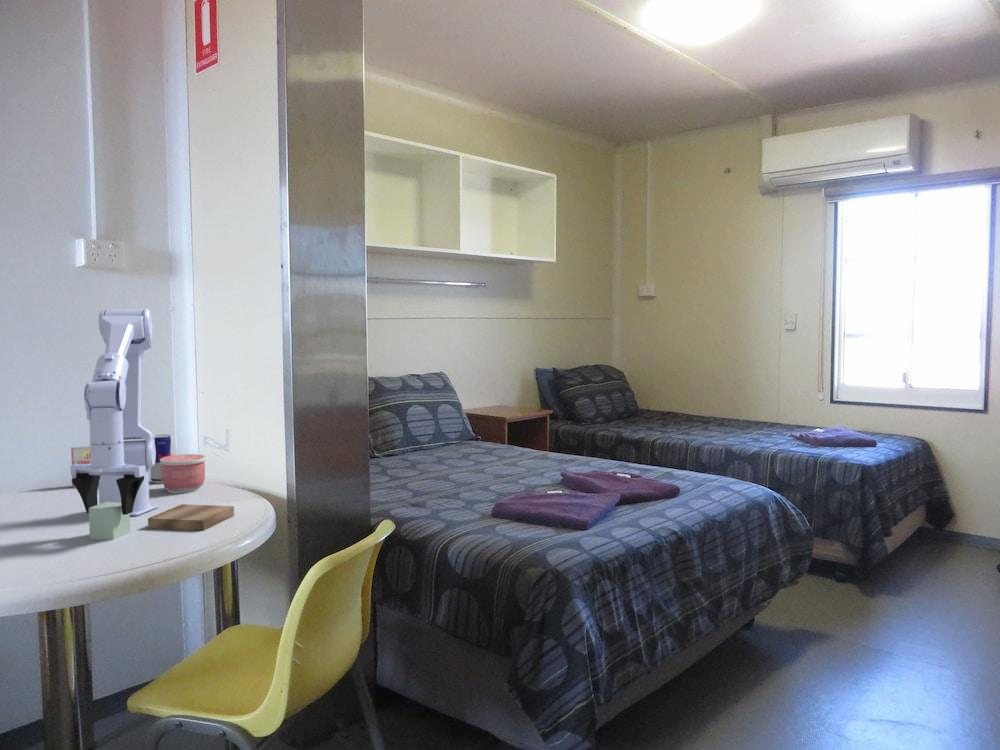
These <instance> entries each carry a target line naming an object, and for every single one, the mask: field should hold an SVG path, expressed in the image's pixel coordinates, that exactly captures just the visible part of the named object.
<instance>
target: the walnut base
mask: <svg viewBox="0 0 1000 750" xmlns="http://www.w3.org/2000/svg"><path fill="white" fill-rule="evenodd" d="M234 516H235V506H234V505H213V504H211V505H210V504H209V505H208V504H207V505H206V504H186V503H185V504H182V503H181V504H179V505H177V506H174V507H172V508H170V509H168V510H165V511H162V512H160V513H158V514H155V515H153V516H150V517H148V518H147V524H148V525H147V528H148V529H161V530H163V529H164V530H184V531H185V530H187V531H202V532H203V531H206V530H208V529H210V528H212V527H213V526H216V525H217V524H219V523H222V522H224V521H226V520H229V519H230V518H231V517H234Z"/></svg>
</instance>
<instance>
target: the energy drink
mask: <svg viewBox="0 0 1000 750" xmlns="http://www.w3.org/2000/svg"><path fill="white" fill-rule="evenodd" d="M153 436H154V441H155V449H156V459H155V464H154V466H153V467H152V468H150V469H149V470H150V483H152V484H155V485H156V484H158V485H159V484H162V485H163V483H162V472H161V466H162V464H160V459H161V458H164V457H168V456H174V455H173V453H174V452H173V449H174V448H173V437H172V434H153Z"/></svg>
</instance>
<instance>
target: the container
mask: <svg viewBox="0 0 1000 750" xmlns="http://www.w3.org/2000/svg"><path fill="white" fill-rule="evenodd" d="M206 460H207V457H206V456H205V455H203V454H195V453H194V454H193V453H192V454H191V453H189V454H188V453H187V454H176V455H173V456H168V457H164V458H161V459H160V464H162V466H161V472H162V485H163V487H164V488H165V489H166V490H167V491H168V492H167V493H169V492H172V493H171V494H188V493H193V492H197V491H200V490H201V487H202V486H203V485H204V482H205V479H206V463H205V461H206Z"/></svg>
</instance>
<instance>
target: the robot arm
mask: <svg viewBox="0 0 1000 750" xmlns="http://www.w3.org/2000/svg"><path fill="white" fill-rule="evenodd" d="M153 325H154V323H153V316H152V312H151V310H149V309H148V308H144V309H119V308H118V309H117V308H116V309H108V308H102V309H101V311H100V312H99V315H98V330H99V333H100V335H101V338H102V339H103V343H104V344H105V352H104V353H103V354H101V355H100V356H99V357H98V358H97V360H96V364H95V368H94V373H93V375H92V379H91V381H90V383H86V384H85V386H84V389H83V391H84V392H83V400H84V406H85V407H84V408H85V409H86V410H85V412H86V419H87V420H88V421H89V446H90V452H91V464H75V465H72V464H71V465H70V476H72V475H76V478H73V479H72V478H71V484H72V486H73V485H74V486H75V487H76V488H75V489H76V491H77V492H78V494H79V495H80V498H81V500H82V503H83V505H84V509H85V512H86V514H89V508H90V507H93V506H96V505H99V504H102V503H105V502H121V509H122V514H123V515H127V514H129V513H130V516H139V515H142V514H145V513H147V512H149V511H152V510H155V509H157V508H159V504H150V487H149V486H150V481H149V470H151V469H150V468H152V467H153V466H154V464H155V459H156V449H155V441H154V436H153V435H154V433H153V432H152V431H151V430H149V429H147V428H146V427H144V426H143V425H142V422H141V420H142V363H143V362H142V361H143V358H144V357H143V356H144V352H145V351H147V350H149V349H151V348H152V344H153V340H154V339H153V335H154V334H153V333H154V331H153ZM101 475H102V476H101ZM100 476H101V478H100ZM99 479H100V481H99ZM98 484H99V486H98ZM98 499H99V500H98ZM98 501H99V502H98ZM98 503H99V504H98Z"/></svg>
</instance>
